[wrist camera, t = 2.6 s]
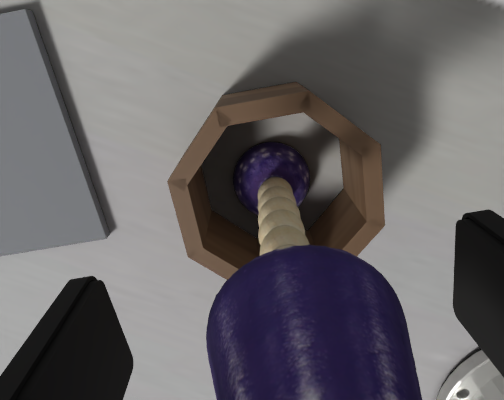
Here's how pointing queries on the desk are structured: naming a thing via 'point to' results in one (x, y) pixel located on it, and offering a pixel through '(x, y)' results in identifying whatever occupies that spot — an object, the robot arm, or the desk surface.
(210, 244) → the holder ring
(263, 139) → the desk surface
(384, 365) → the toy lamp
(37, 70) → the mat
